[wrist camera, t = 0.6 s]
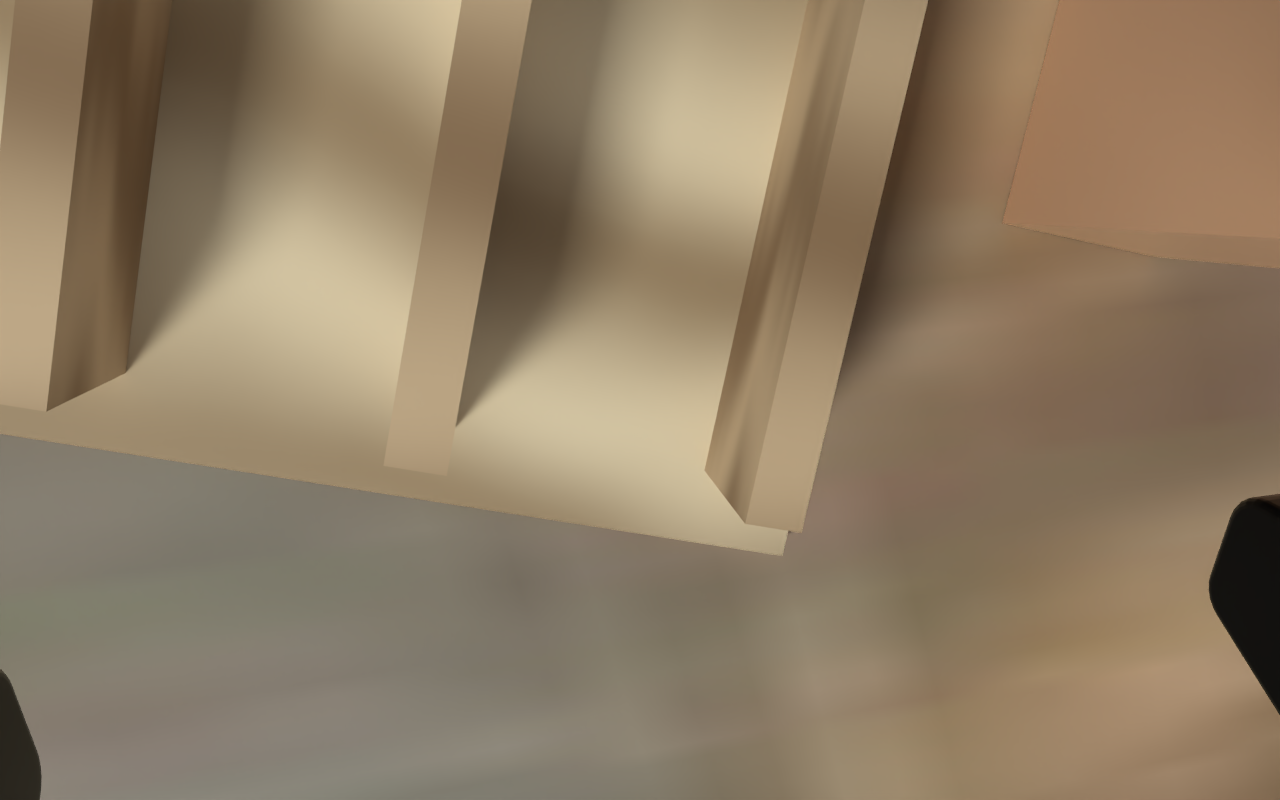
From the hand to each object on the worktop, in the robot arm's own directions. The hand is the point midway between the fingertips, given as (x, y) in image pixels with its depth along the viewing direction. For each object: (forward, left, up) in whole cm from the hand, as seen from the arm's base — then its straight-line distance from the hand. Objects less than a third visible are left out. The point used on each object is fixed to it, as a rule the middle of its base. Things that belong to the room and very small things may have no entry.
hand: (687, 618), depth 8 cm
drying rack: (+5, +3, -14) cm, 15 cm away
